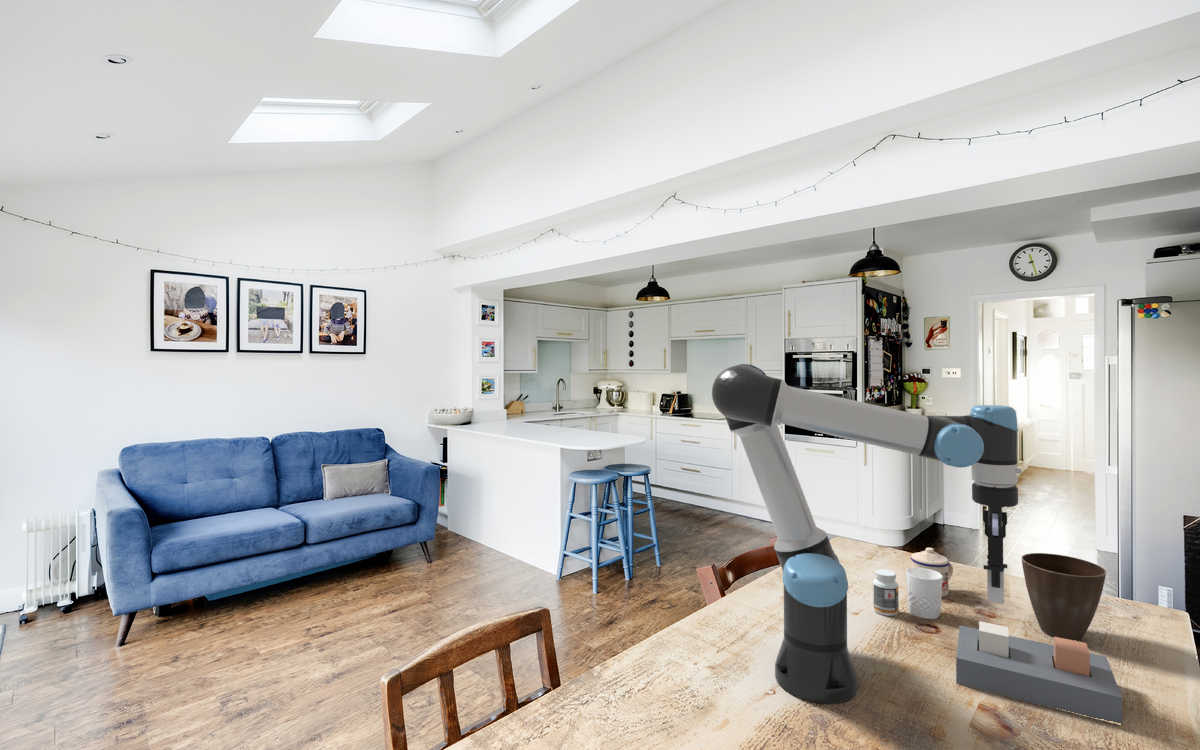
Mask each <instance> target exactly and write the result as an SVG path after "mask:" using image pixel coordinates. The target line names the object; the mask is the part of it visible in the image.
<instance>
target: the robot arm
mask: <svg viewBox="0 0 1200 750" xmlns="http://www.w3.org/2000/svg"><path fill="white" fill-rule="evenodd" d="M711 397H712V401H713V405H714V406H715V408H716V409H717V410H718V412H720V414H722V415H723V416H724V417H725V420H726V423H727V425H728V428H729V431H730V432H731V433H732V434H735V435H737V436H739V437H740V441H741V444H742V446H743V449H744V451H745V453H746V457H747V459H748V462H749V465H750V468H751V470H752V473H753V475H754V478H755V480H756V483H757V487H758V489H759V491H760V494H761V496H762V499H763V502H764V505H765V507H766V510H767V512H768V515H769V519H770V520H771V524H772V526H773V529H774V530H775V534H776V536H777V539H776V541H775V543H774V546H773V548H774V551H775V553H776V557H777V560H778V562H779V564H780V567H781V570H782V583H783V639H782V643H781V645H780V648H779V650H778V651H779V652H778V653H777V656H776V660H775V663H774V664H775V665H774V676H775V680H776V681H777V683H778V684H779V686H780V687H781V688H782V689H783V690H785V691H787V692H788V693H790V694H791V695H793V696H796V697H797V698H799V699H803V700H806V701H809V702H814V703H820V704H839V703H840V704H841V703H843V702H847V701H850V700H851V699H852V698H853V699H854V697H855V695H856V694H857V693H858V676H857V672H856V669H855V667H854V664H853V661H852V657H851V654H850V652H849V648H848V590H849V582H848V581H849V580H848V577H847V572H846V569H845V568H844V566H843V565H842V564H841V562H840V560H839V558H838V556H837V554H836V553H835V551H834V549H833V547H832V544H831V542H830V539H829V536H828V534H827V532H826V531H825V530H823V529H821V528H820V527H818V526H817V525H816V523H815V520H814V517H813V515H812V512H811V509H810V507H809V504H808V501H807V499H806V496H805V494H804V491H803V488H802V486H801V483H800V481H799V478H798V475H797V473H796V471H795V468H794V465H793V463H792V460H791V458H790V457H791V456H790V455H789V452H788V450H787V446H786V444H785V442H784V439H783V436H782V433H781V431H780V429H779V425H778V424H781V425H786V426H790V427H795V428H799V429H803V430H807V431H811V432H816V433H821V434H825V435H828V436H833V437H837V438H841V439H846V440H850V441H855V442H859V443H864V444H867V445H872V446H876V447H880V448H885V449H888V450H892V451H897V452H900V453H906V454H909V455H915V456H917V457H918V456H919V457H922V458H926V459H930V460H935V461H938V462H941V463H943V464H944V465H946V466H949V467H952V468H953V467H955V468H968V467H970V466H971V467H970V468H971V469H970V470H971V471H970V472H971V480H972V481H973V483H972V484H971V500H972V501H973V502H974V503H976V504H978V505H982V506H983V505H985V506H987V510H986V509H982V521H983V522H984V535H985V537H987V555H986V558H987V561H986V563H987V564H983V570H986V571H987V572H986V574H987V575H986V578H987V580H986V581H987V582H986V583H987V585H986V586H987V587H986V588H987V602H990V603H996V604H1001V605H1005V573H1004V572H1005V569H1008V563H1007V564H1006V563H1004V539H1005V538H1006V536H1007V531H1006V530H1007V524H1008V513H1007V512H1005V511H1003V508H1005V507H1006V508H1012V507H1016V506H1017V505H1019V488H1018V487H1017V485H1016V484H1018V474H1021V473H1022V469H1021V468H1019V467H1018V435H1019V434H1018V432H1019V427H1018V417H1017V411H1016V410H1015V408H1013V407H1012V406H1008V405H999V404H998V405H997V404H996V405H994V404H993V405H992V404H990V405H989V404H987V405H985V404H983V405H980V404H979V405H973V406H971V409H970V413H969V414H966V415H926V414H919V413H912V412H910V411H909V412H908V411H904V410H899V409H894V408H891V407H886V406H882V405H877V404H872V403H867V402H862V401H858V400H853V399H849V398H844V397H841V396H840V397H839V396H834V395H831V394H826V393H821V392H817V391H812V390H808V389H802V388H799V387H794V386H790V385H788V384H787V383H786V382H785V380H784V379H780V378H777V377H772V376H769V375H767V374H766V373H765V372H764V371H763V370H762V369H761V368H759V367H757V366H755V365H753V364H747V363H741V364H736V365H733V366H730V367H727V368H725V369H724V370H722V371H721V372H720V373H719V374H718V375H717V376H716V378H715V379H714V382H713V384H712V388H711Z"/></svg>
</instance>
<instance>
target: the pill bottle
mask: <svg viewBox="0 0 1200 750" xmlns="http://www.w3.org/2000/svg"><path fill="white" fill-rule="evenodd" d="M874 576H875V578H874V579H873V582H872V606H873V607H872V608H873V610H874V611H875V612H876V613H878V614H880V615H882V616H887V617H894V616H897V615H898V614H899V613H900V612H899V610H900V609H899V602H900V601H899V584H898V582H897V581H896V579H897V573H896V572H895V571H893V570H890V569H884V568H880V569H876V570H875V571H874Z"/></svg>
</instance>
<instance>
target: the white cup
mask: <svg viewBox="0 0 1200 750" xmlns="http://www.w3.org/2000/svg"><path fill="white" fill-rule="evenodd" d="M905 577H906V578H905V581H906V583H905V584H906V593H907V594H906V597H907V598H906V599H907V608H908V609H907V610H908V613H910V614H911V615H912V616H915V617H917V618H921V619H924V620H925V619H926V620H936V619H939V618H940V616H941V606H942V605H941V604H942V598H943V597H942V580H943V576H942V574H940V573H939V572H936V571H934V570H930V569H925V568H912V567H910V568H907V569H906V570H905Z"/></svg>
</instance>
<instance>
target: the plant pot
mask: <svg viewBox="0 0 1200 750" xmlns="http://www.w3.org/2000/svg"><path fill="white" fill-rule="evenodd" d="M1021 564H1022V571H1023V577H1024V581H1025V586H1026V589H1027V590H1026V591H1027V595H1028V597H1029V600H1030V604H1031V606H1032V610H1033V612H1034V613H1033V614H1034V615H1035V617H1036V621H1037V623H1038V626H1039V627H1040V630H1041V631H1042V632H1043V633H1044V634H1046V635H1048V636H1051V637H1053V638H1054V637H1059V638H1064V639H1069V640H1073V641H1075V640H1079V641H1081V640H1083V639H1084V636H1085V635H1086V633H1087V631H1088V629H1089V627H1090V626H1091V623H1092V621H1093V619H1094V617H1095V614H1096V612H1097V610H1098V607H1099V603H1100V600H1101V596H1102V593H1103V590H1104V585H1105V580H1106V576H1107V575H1106V574H1107V571H1106V569H1105V568H1103V567H1102V566H1101V565H1098V564H1096V563H1094V562H1091V561H1089V560H1085V559H1082V558H1076V557H1073V556H1068V555H1063V554H1056V553H1047V552H1046V553H1045V552H1044V553H1043V552H1031V553H1026V554H1023V555H1021Z"/></svg>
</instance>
